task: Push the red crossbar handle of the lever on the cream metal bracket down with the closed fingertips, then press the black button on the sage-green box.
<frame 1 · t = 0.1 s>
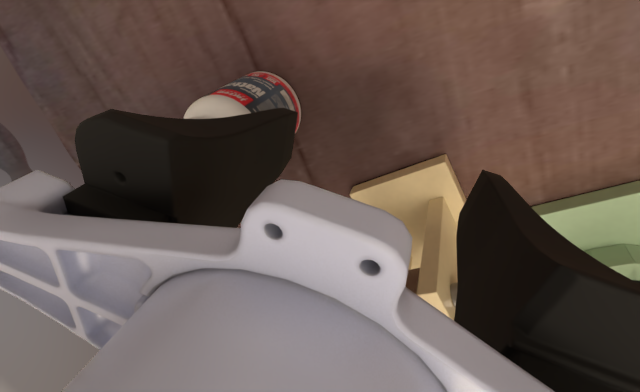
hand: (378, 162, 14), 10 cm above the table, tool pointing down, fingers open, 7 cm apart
button box: (605, 255, 23), on the table
lever: (440, 359, 21), point 8 cm above the table, hinge at 2.0°
bracket: (421, 221, 26), on the table
pill bottle: (269, 106, 25), on the table
button: (630, 312, 21), point 3 cm above the table, slide at 0.1 cm
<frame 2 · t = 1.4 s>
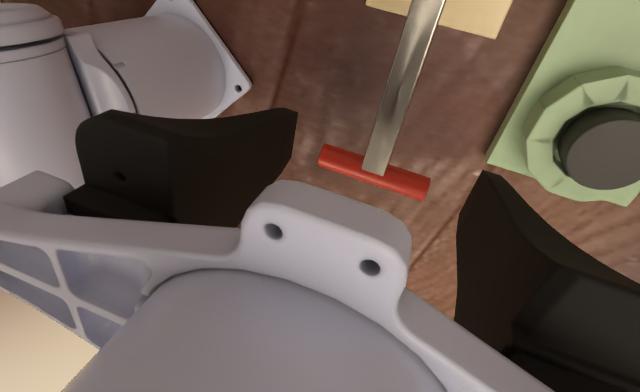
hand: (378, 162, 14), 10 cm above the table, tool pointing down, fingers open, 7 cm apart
button box: (603, 97, 19), on the table
lever: (413, 47, 13), point 8 cm above the table, hinge at 2.0°
button: (606, 149, 17), point 3 cm above the table, slide at 0.1 cm
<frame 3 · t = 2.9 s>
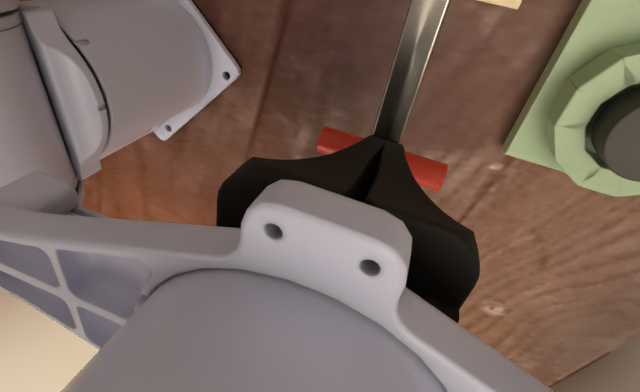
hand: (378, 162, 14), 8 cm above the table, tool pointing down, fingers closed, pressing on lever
lever: (429, 6, 11), point 8 cm above the table, hinge at -0.4°, touching gripper
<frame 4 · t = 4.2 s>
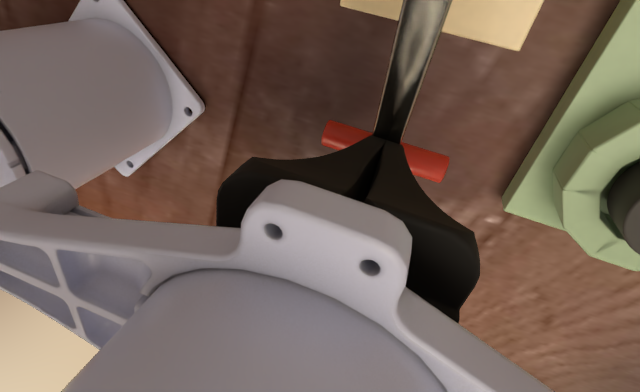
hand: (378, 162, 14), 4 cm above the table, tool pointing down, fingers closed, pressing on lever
lever: (418, 34, 9), point 6 cm above the table, hinge at -27.6°, touching gripper
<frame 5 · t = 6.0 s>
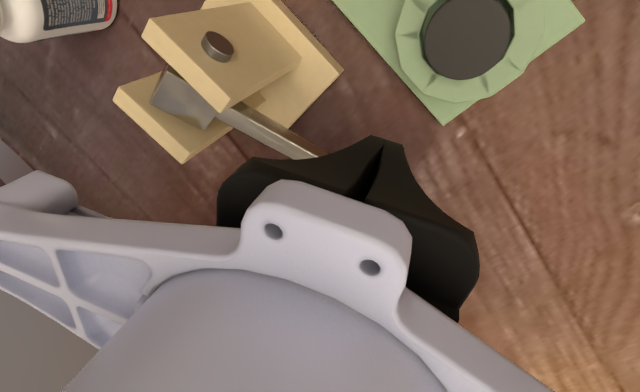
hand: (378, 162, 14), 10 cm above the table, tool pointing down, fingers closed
button box: (446, 4, 19), on the table
lever: (269, 132, 20), point 6 cm above the table, hinge at -27.6°
bracket: (263, 56, 24), on the table
button: (465, 36, 16), point 3 cm above the table, slide at 0.1 cm
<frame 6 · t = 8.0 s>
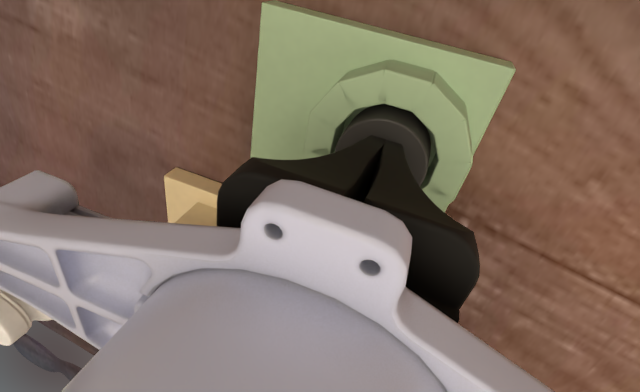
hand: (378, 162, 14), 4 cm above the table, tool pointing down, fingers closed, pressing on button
button box: (362, 120, 17), on the table
bracket: (238, 232, 23), on the table
pill bottle: (101, 235, 29), on the table
button: (382, 154, 14), point 3 cm above the table, slide at -0.7 cm, touching gripper
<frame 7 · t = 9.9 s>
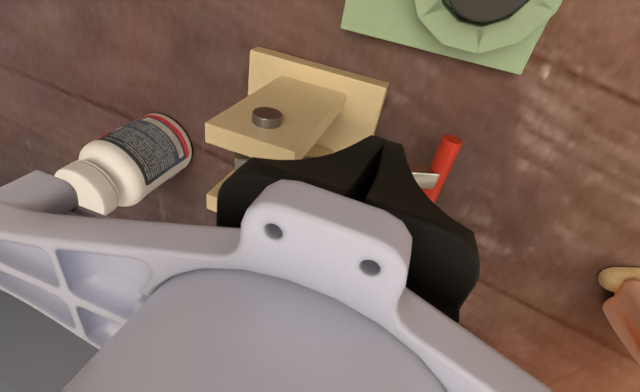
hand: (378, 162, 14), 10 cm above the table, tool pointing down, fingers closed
lever: (346, 171, 19), point 6 cm above the table, hinge at -27.6°
bracket: (313, 114, 25), on the table
pill bottle: (168, 140, 31), on the table
grandmother figurine: (630, 292, 24), on the table
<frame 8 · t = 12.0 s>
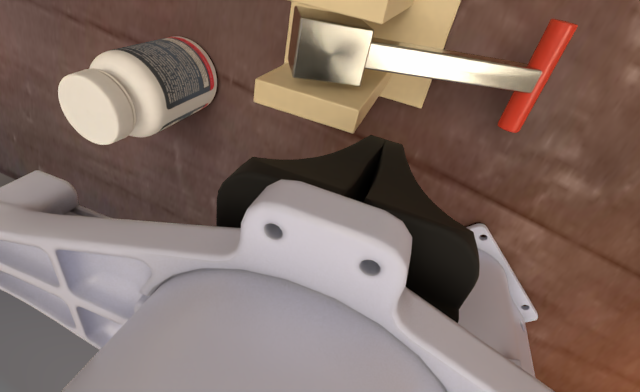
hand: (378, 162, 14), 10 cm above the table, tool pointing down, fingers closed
lever: (429, 62, 15), point 6 cm above the table, hinge at -27.6°
bracket: (368, 24, 21), on the table
pill bottle: (189, 73, 27), on the table
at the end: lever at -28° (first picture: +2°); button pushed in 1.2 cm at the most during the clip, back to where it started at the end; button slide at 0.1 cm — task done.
